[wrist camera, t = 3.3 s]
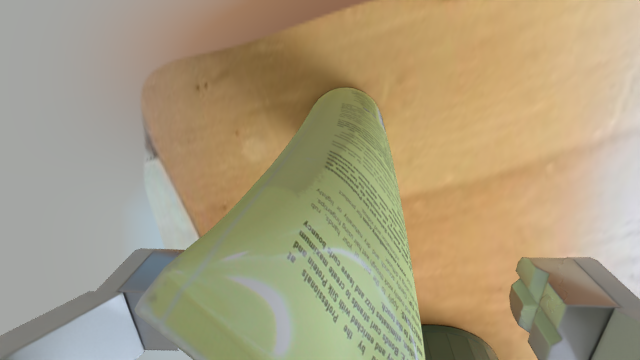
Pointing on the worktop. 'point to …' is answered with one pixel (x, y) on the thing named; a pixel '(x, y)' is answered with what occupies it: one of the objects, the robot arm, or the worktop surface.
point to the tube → (302, 255)
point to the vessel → (454, 344)
